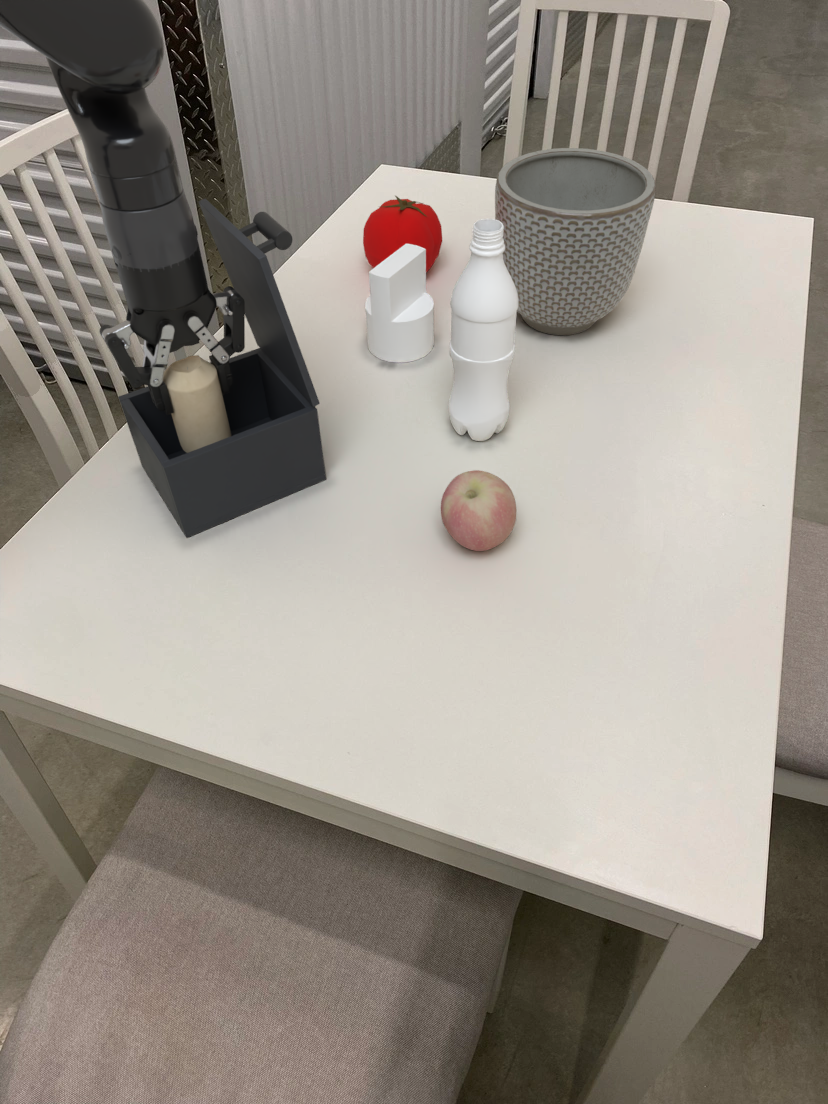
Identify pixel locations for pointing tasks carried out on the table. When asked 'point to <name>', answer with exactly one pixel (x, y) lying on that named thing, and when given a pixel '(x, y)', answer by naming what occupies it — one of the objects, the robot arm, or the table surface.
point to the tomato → (401, 230)
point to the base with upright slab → (400, 307)
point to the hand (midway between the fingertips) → (195, 399)
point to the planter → (572, 233)
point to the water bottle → (482, 336)
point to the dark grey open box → (232, 448)
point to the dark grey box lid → (261, 290)
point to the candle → (196, 403)
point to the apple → (478, 510)
